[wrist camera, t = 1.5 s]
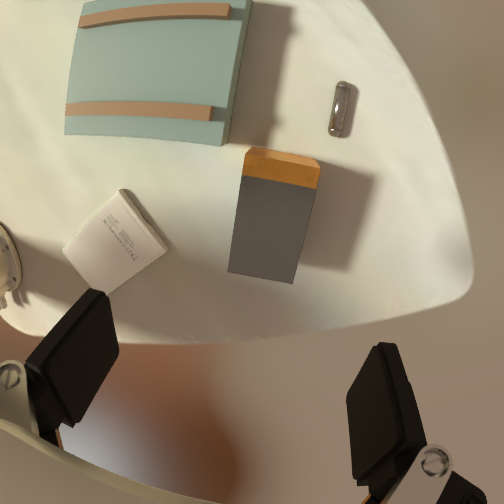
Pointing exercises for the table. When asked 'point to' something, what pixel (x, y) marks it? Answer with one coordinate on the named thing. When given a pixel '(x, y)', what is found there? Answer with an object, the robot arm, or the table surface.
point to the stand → (156, 69)
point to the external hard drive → (114, 245)
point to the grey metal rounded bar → (338, 108)
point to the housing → (272, 214)
